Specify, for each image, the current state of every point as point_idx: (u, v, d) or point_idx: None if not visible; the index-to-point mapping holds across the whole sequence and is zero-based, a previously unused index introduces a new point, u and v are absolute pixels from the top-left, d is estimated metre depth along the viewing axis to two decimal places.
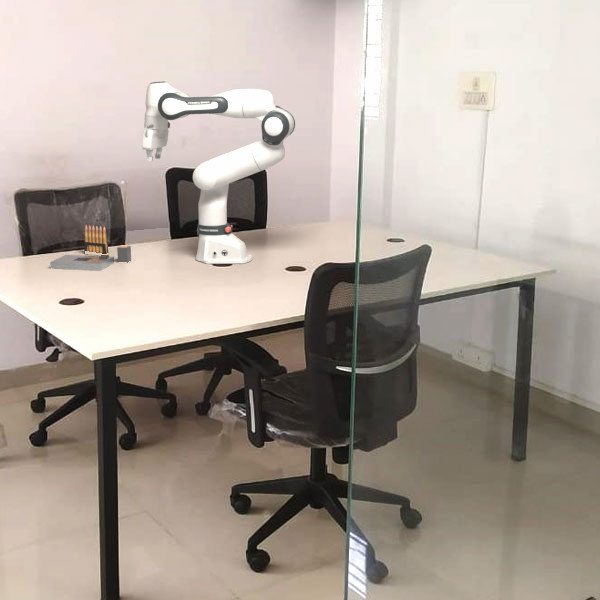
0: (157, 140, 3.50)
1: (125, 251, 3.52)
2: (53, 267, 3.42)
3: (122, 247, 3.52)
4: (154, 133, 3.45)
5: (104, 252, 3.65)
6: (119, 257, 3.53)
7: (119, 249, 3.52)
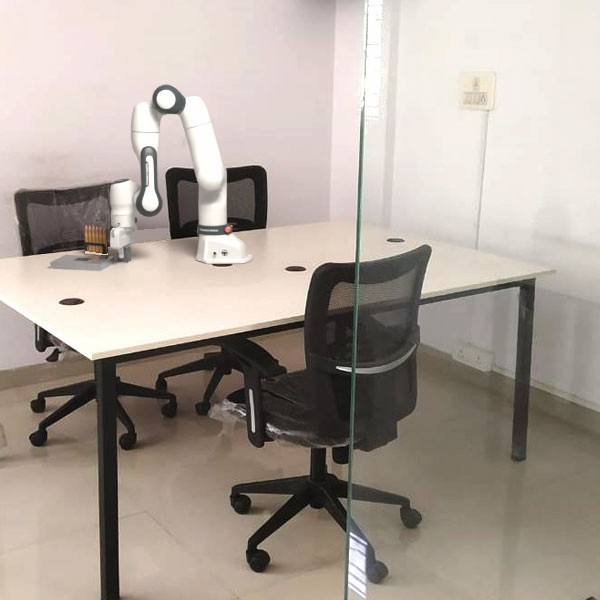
0: (125, 237, 3.50)
1: (125, 251, 3.52)
2: (53, 267, 3.42)
3: None
4: (121, 232, 3.45)
5: (104, 252, 3.65)
6: None
7: None
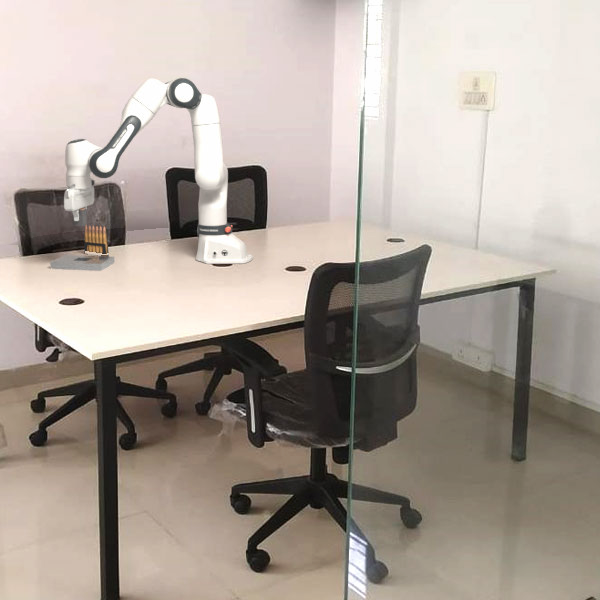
0: (81, 200, 3.39)
1: (80, 214, 3.41)
2: (53, 267, 3.42)
3: None
4: (76, 193, 3.34)
5: (104, 252, 3.65)
6: None
7: None
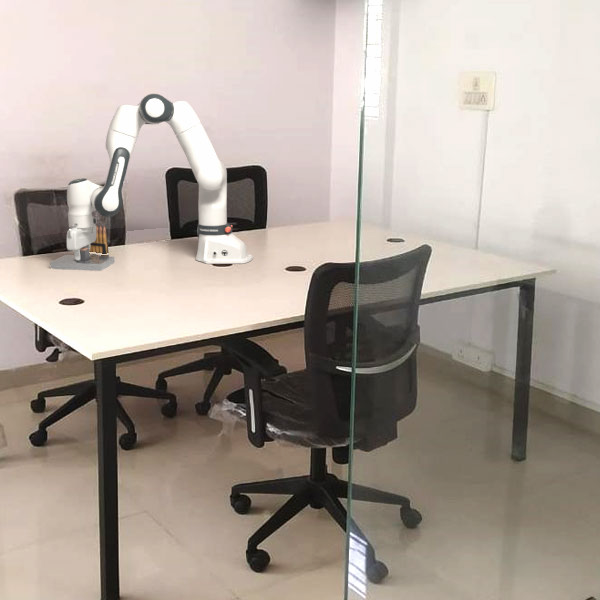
0: (83, 238, 3.42)
1: (83, 254, 3.44)
2: (53, 267, 3.42)
3: (80, 250, 3.45)
4: (78, 232, 3.38)
5: (104, 252, 3.65)
6: (77, 260, 3.45)
7: None
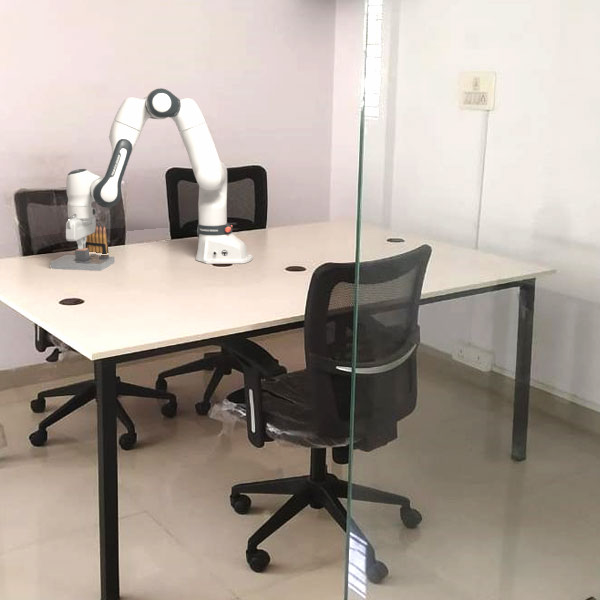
0: (82, 229, 3.42)
1: (83, 254, 3.44)
2: (53, 267, 3.42)
3: (80, 250, 3.45)
4: (77, 223, 3.37)
5: (104, 252, 3.65)
6: (77, 260, 3.45)
7: (77, 252, 3.45)
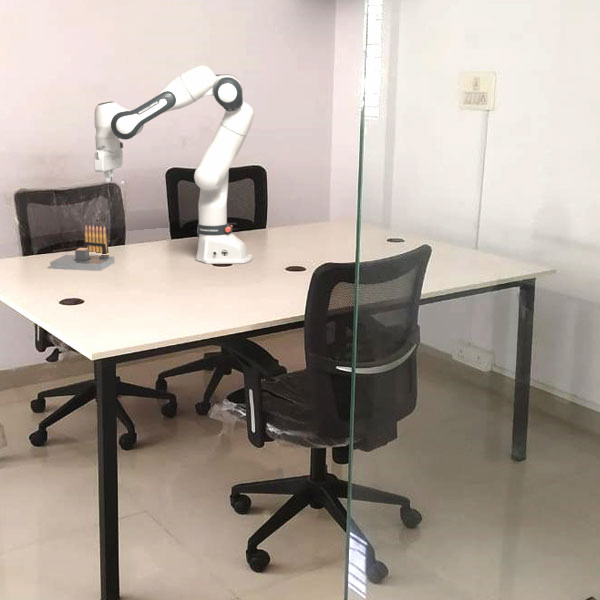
0: (110, 161, 3.45)
1: (83, 254, 3.44)
2: (53, 267, 3.42)
3: (80, 250, 3.45)
4: (106, 154, 3.40)
5: (104, 252, 3.65)
6: (77, 260, 3.45)
7: (77, 252, 3.45)
